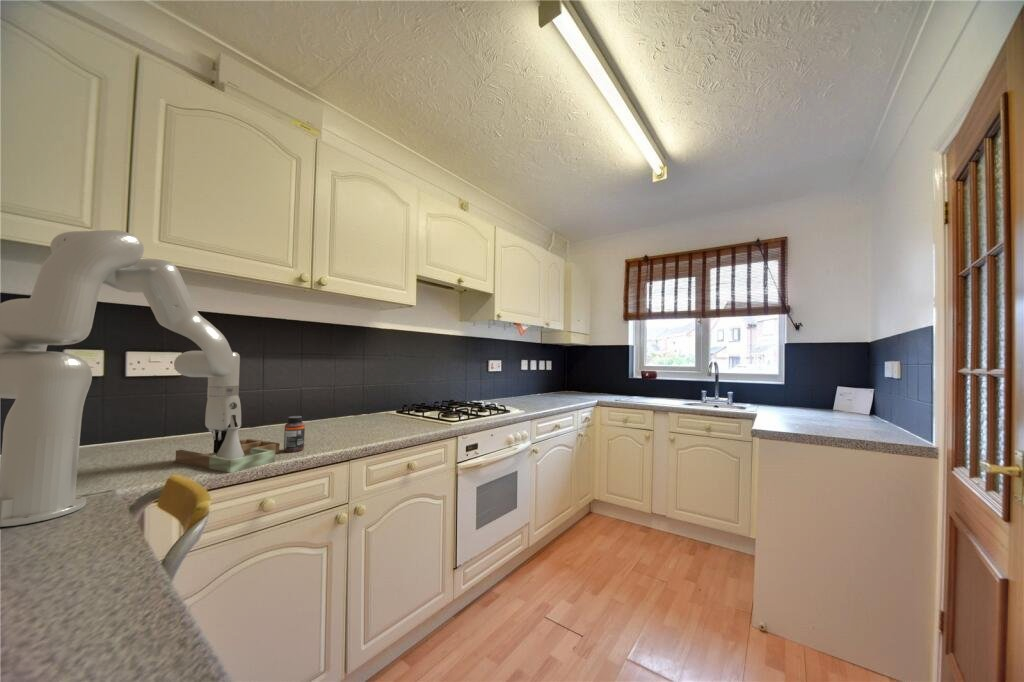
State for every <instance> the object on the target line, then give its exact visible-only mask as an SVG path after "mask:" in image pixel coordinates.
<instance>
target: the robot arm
mask: <svg viewBox="0 0 1024 682" xmlns="http://www.w3.org/2000/svg"><path fill="white" fill-rule="evenodd" d="M49 247H50V252H51V254H50V255H49V256H48V257H47V258H46V259H45V260H44V262H43V264H42V265H41V267H40V269H39V272H38V274H37V276H36V277H37V278H36V281H35V283H34V286H33V289H32V292H31V294H30V297H29V298H25V297H24V298H15V299H14V298H13V299H9V300H5V301H3V302H0V399H8V400H9V399H12V400H13V399H14V402H13V404H12V406H11V407H10V409H9V411H8V413H7V415H6V416H5V417H6V418H5V420H4V425H3V430H2V446H1V454H0V455H1V456H0V528H3V527H5V528H6V527H14V526H15V527H16V526H23V525H27V524H32V523H34V524H35V523H38V522H42V521H43V522H44V521H47V520H52V519H55V518H59V517H62V516H65V515H68V514H71V513H74V512H76V511H79V510H81V509H82V508H84V507H85V506H86V504H87V498H86V497H85V496H80V495H76V493H77V478H78V466H79V454H80V444H81V441H80V440H81V430H82V419H83V411H84V406H85V401H86V398H87V395H88V392H89V390H90V387H91V385H92V380H93V372H92V368H91V367H90V364H89V363H87V361H86V360H84V358H82V357H79V356H77V355H75V354H72V353H69V352H63V351H62V352H61V351H48V350H47V348H48V346H65V345H67V346H68V345H74V344H78V343H81V342H82V341H84V340H85V339H87V338H88V337H89V335H90V333H91V331H92V328H93V324H94V320H95V319H94V318H95V312H96V308H97V304H98V300H99V299H98V297H99V294H100V291H101V288H102V286H103V285H106V286H109V287H111V288H113V289H115V290H119V291H122V292H127V293H141V294H143V296H144V298H145V300H146V302H147V304H148V305H149V307H150V309H151V311H152V313H153V315H154V317H155V320H156V321H157V323H158V324H159V325H160V326H162V327H164V328H166V329H168V330H169V331H172V332H174V333H177V334H178V335H181V336H182V337H183V336H184V337H186V338H187V339H189V340H191V341H192V342H193V343H195V344H196V345H197V346H198V347H199V348H200V349H201V350H189V351H185V352H182V353H180V354H179V355H178V356H176V357H175V359H174V361H173V368H174V370H175V371H176V372H177V373H178V374H180V375H181V376H185V377H189V378H207V393H206V394H207V395H206V398H207V399H206V400H207V401H206V407H205V416H204V421H205V422H204V426H205V427H206V429H208V432H210V433H211V434H212V440H213V454H215V455H217V453H218V451H219V449H220V447H221V445H222V444H223V442H224V440H225V436H226V433H227V428H235V426H240V428H241V427H242V406H241V405H242V404H241V399H240V396H239V391H240V390H239V388H240V365H241V364H240V363H241V356H240V354H239V353H238V352H236V351H232V348H231V346H230V343H229V342H228V340H227V338H226V337H225V335H224V334H223V333H222V332H221V331H220V330H219V329H218V328H216V327H215V326H214V325H213V324H212V323H211V322H210V321H208V320H207V319H206V318H204V317H203V316H202V314H200V313H199V312H198V309H197V307H196V305H195V303H194V301H193V299H192V297H191V294H190V292H189V290H188V287H187V285H186V283H185V281H184V279H183V277H182V274H181V272H180V270H179V269H178V267H177V266H176V265H175V264H174V263H172V262H171V261H168V260H164V259H157V258H156V259H155V258H143V255H144V251H145V249H144V244H143V242H142V241H141V239H140V238H139V237H137V236H136V235H134V234H133V233H130V232H126V231H124V230H123V231H122V230H116V229H115V230H114V229H113V230H109V229H108V230H105V229H104V230H75V231H65V232H62V233H60V234H57V235H55V237H53V238H52V240H51V242H50V245H49Z"/></svg>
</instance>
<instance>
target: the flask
mask: <svg viewBox="0 0 1024 682" xmlns="http://www.w3.org/2000/svg"><path fill="white" fill-rule="evenodd" d="M240 428H241V427H240V426H235V428H227V433H226V436H225V440H224V442H223V444H222V445H221V447H220V449H219V451H218V453H217V454H215V456H218V457H224V458H229V459H236V458H240V457H245V456H246V455H244V452H243V450H242V447H241V444H240V441H239V440H240V438H239V429H240Z"/></svg>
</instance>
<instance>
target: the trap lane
mask: <svg viewBox="0 0 1024 682" xmlns="http://www.w3.org/2000/svg"><path fill="white" fill-rule="evenodd" d="M239 441H240V444H241V447H242V450H243V452H244V455H245V457H240V458H236V459H229V458H224V457H218V456H216V455H212V454H207V453H201V452H196V451H190V450H184V449H178V450H177V449H176V450H175V458H174V459H175V463H179V464H186V465H191V466H195V467H199V468H205V469H211V470H215V471H219V472H224V473H230V474H231V473H235V472H238V471H242V470H247V469H251V468H255V467H260V466H263V465H266V464H270V463H273V462H275V460H276V458H275V457H276V455H277V454H280V442H274V441H268V440H267V441H266V440H259V439H252V438H245V439H241V440H240V439H239Z"/></svg>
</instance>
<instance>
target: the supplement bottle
mask: <svg viewBox="0 0 1024 682" xmlns="http://www.w3.org/2000/svg"><path fill="white" fill-rule="evenodd" d="M305 428H306V423H305V422H303V416H301V415H292V416H288V419H287V423H285V425H284V435H283V436H284V437H283V452H285V453H297V452H301V451H302V450H304V449H305V434H306V433H305V430H306V429H305Z"/></svg>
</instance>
